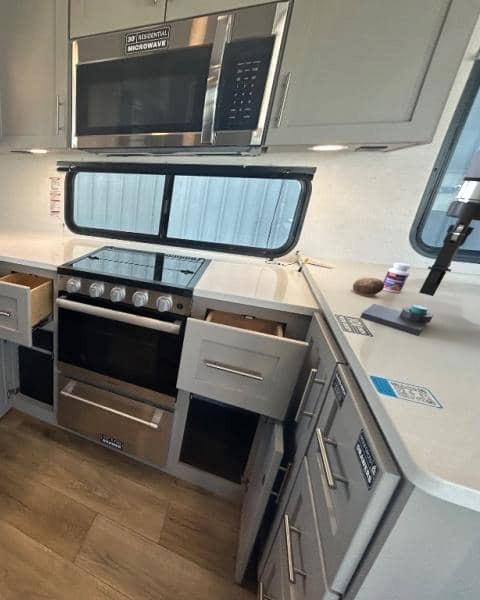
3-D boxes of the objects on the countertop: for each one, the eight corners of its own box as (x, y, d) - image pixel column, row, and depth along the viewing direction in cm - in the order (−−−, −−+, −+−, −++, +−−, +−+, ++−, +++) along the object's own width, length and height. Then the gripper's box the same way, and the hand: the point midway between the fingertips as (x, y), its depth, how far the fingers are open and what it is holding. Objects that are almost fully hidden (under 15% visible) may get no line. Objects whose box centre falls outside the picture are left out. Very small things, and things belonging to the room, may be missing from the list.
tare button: (425, 314, 89) (428, 308, 88) (423, 316, 87) (427, 310, 86) (411, 309, 91) (414, 304, 90) (408, 312, 89) (411, 306, 88)
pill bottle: (379, 289, 116) (391, 263, 112) (381, 286, 120) (393, 260, 116) (399, 294, 112) (412, 267, 109) (401, 291, 116) (414, 264, 112)
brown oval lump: (384, 284, 110) (380, 270, 108) (388, 300, 105) (385, 285, 103) (353, 289, 116) (349, 276, 113) (356, 304, 111) (352, 290, 108)
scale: (428, 325, 90) (434, 313, 88) (420, 337, 83) (426, 324, 81) (371, 308, 99) (376, 297, 97) (359, 318, 91) (364, 306, 90)
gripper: (456, 199, 84) (412, 285, 93) (449, 199, 76) (402, 293, 86) (500, 203, 79) (449, 294, 88) (498, 204, 71) (442, 303, 80)
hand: (426, 293), depth 87 cm, fingers closed
